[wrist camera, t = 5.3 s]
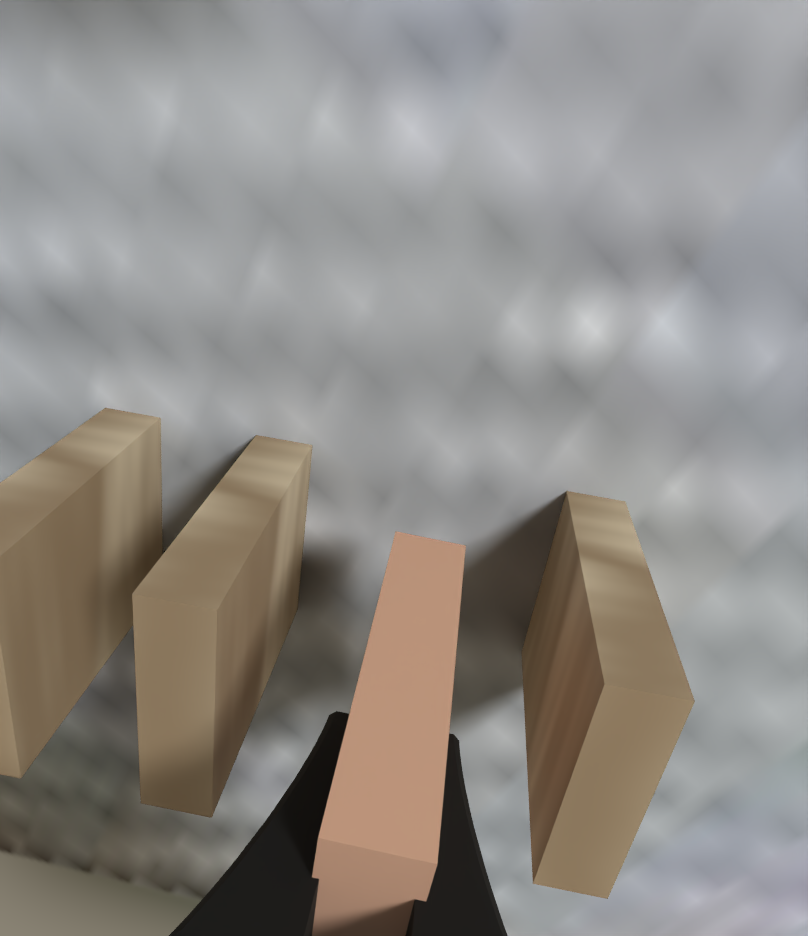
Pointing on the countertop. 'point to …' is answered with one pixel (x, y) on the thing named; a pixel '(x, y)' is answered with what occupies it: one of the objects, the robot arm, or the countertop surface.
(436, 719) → the domino
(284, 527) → the middle domino
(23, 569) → the domino
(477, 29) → the countertop surface
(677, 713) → the end domino
